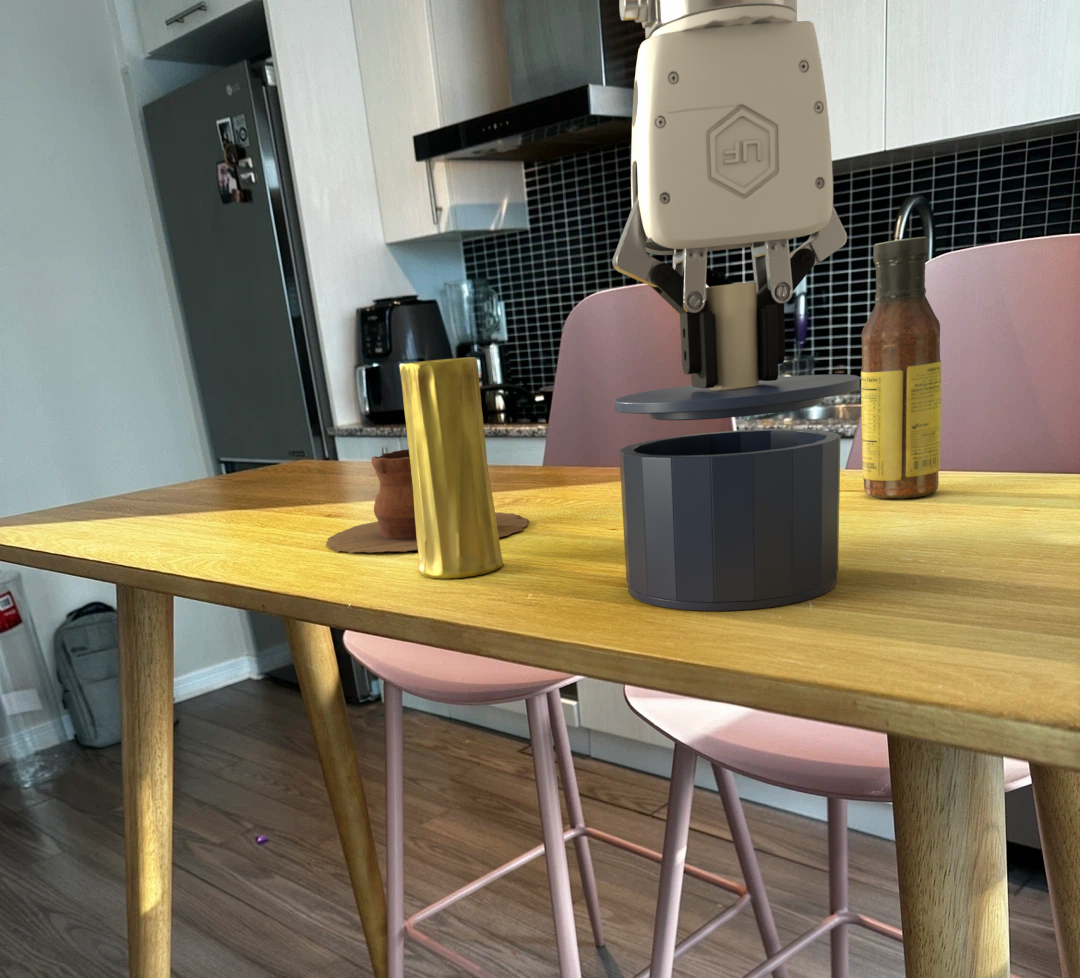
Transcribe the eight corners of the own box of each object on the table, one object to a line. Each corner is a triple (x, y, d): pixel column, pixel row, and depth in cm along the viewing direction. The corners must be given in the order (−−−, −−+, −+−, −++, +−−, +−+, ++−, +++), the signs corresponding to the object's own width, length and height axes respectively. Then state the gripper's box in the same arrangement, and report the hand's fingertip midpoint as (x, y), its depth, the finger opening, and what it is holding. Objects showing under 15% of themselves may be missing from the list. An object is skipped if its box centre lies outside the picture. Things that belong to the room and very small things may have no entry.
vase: (484, 579, 70) (461, 359, 65) (404, 579, 72) (375, 366, 67) (515, 559, 76) (496, 354, 71) (439, 560, 78) (415, 361, 73)
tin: (759, 552, 71) (758, 425, 68) (883, 586, 60) (888, 435, 57) (594, 582, 67) (585, 448, 64) (693, 624, 56) (688, 463, 53)
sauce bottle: (936, 487, 89) (948, 236, 82) (942, 499, 84) (955, 231, 77) (857, 490, 91) (863, 245, 84) (858, 502, 86) (864, 241, 79)
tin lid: (768, 394, 68) (765, 284, 65) (913, 396, 56) (916, 262, 53) (578, 420, 63) (568, 304, 61) (690, 429, 51) (683, 284, 49)
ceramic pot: (505, 549, 80) (496, 456, 77) (292, 559, 83) (277, 471, 81) (545, 509, 96) (539, 431, 94) (366, 519, 100) (355, 445, 97)
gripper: (576, -3, 48) (607, 402, 55) (907, -30, 50) (899, 369, 56) (554, 42, 55) (584, 396, 62) (845, 17, 57) (844, 367, 63)
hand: (734, 380), depth 59 cm, fingers closed on tin lid, 2 cm apart
